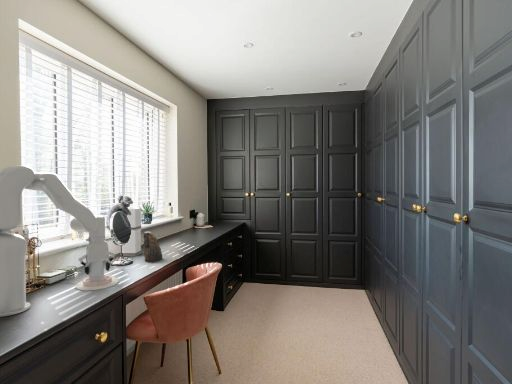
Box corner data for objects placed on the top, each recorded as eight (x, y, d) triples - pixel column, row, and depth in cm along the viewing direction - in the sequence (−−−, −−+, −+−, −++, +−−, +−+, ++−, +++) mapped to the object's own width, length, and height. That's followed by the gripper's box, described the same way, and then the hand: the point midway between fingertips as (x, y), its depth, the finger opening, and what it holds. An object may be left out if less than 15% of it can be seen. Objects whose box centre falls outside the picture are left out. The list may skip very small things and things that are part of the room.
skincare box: (104, 281, 159) (104, 258, 159) (101, 284, 154) (100, 260, 154) (92, 281, 158) (92, 258, 158) (88, 284, 154) (88, 260, 153)
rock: (149, 263, 200) (149, 233, 200) (136, 261, 206) (136, 232, 206) (163, 259, 212) (163, 230, 211) (150, 257, 217) (150, 229, 217)
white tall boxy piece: (141, 252, 232) (141, 207, 232) (135, 256, 221) (135, 208, 221) (127, 252, 232) (126, 207, 232) (120, 256, 222) (119, 208, 221)
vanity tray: (81, 293, 142) (81, 287, 142) (71, 284, 157) (71, 278, 157) (124, 284, 156) (124, 278, 156) (111, 276, 171) (111, 270, 171)
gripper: (80, 242, 148) (80, 277, 148) (117, 238, 160) (117, 270, 160) (76, 240, 153) (76, 274, 153) (112, 236, 165) (112, 267, 165)
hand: (97, 272), depth 157 cm, fingers open, 9 cm apart
